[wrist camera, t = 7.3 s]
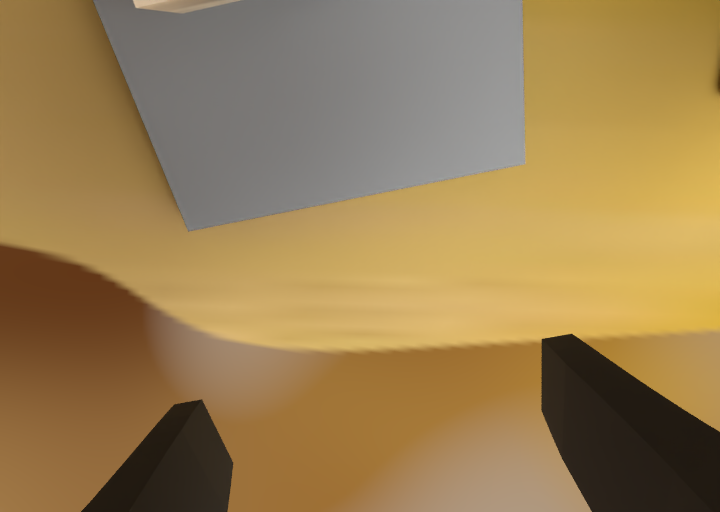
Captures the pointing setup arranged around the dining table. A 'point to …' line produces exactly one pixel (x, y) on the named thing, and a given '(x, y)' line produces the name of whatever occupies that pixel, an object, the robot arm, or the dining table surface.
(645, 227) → the dining table surface
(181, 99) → the baseplate
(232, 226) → the dining table surface
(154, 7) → the birch block
